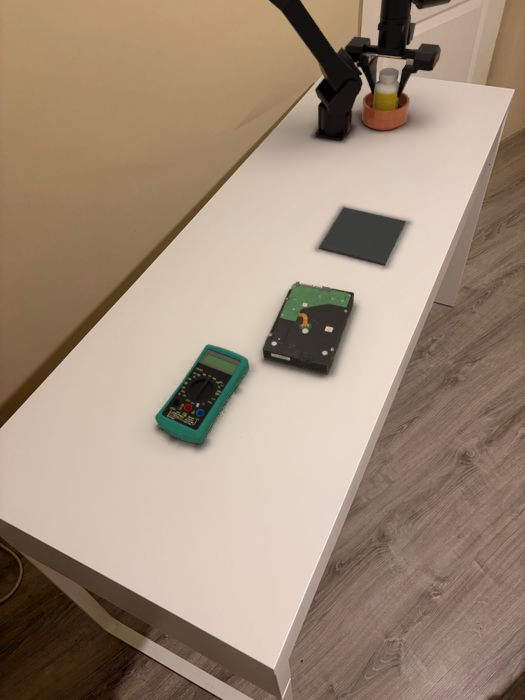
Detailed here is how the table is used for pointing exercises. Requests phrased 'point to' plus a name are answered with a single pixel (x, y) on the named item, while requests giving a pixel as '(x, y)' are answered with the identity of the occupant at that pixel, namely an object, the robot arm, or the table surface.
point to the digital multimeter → (202, 394)
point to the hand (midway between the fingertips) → (386, 95)
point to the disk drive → (309, 327)
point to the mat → (363, 235)
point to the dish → (384, 113)
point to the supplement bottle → (386, 90)
